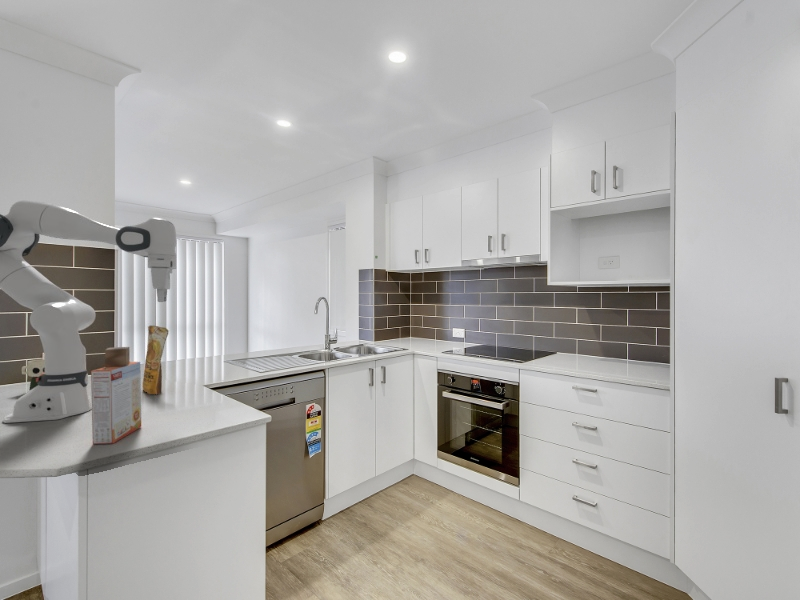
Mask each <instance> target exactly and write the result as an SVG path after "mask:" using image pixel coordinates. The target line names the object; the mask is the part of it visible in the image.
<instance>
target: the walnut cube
mask: <svg viewBox="0 0 800 600" xmlns="http://www.w3.org/2000/svg"><path fill="white" fill-rule="evenodd" d="M130 352H131V351H130V346H118V347H117V346H115V347H107V348H106V349H104V367H117V366H127V365H128V364H129V363H130V362H131V361H130V359H131V358H130V357H131V356H130Z"/></svg>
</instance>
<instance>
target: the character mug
mask: <svg viewBox="0 0 800 600" xmlns="http://www.w3.org/2000/svg"><path fill="white" fill-rule="evenodd" d="M26 369H27V371H26ZM43 373H45V362H44V359H33V360H29V361H27V365H23V366H21V375H27V376H28V377H31V379H30V383H29V391H30V390H32V389H33V388H35V387H36V386H38V384H37V382H36V380H37V379H36V378H37V377H39V376H40V375H41V374H43Z"/></svg>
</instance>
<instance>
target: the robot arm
mask: <svg viewBox="0 0 800 600" xmlns="http://www.w3.org/2000/svg"><path fill="white" fill-rule="evenodd" d="M40 236H44V237H45V236H46V237H49V238H55V239H62V240H70V241H71V240H74V241H89V242H100V243H106V244H110V245H113V246H118V248H119V249H120V250H122V251H124V252H126V253H128V254H132V255H135V256H136V255H137V256H140V257H143V258H147V269H150V275H151V276H150V277H151V283H152V287H153V289H156V296H157V302H158V303H164V302H167V298H168V296H167V295H168V290H170V289H171V274H173V270H176V269H177V253H176V247H177V233H176V227H175V224H174V223H172V222H171V221H169V220H167V219H164V218H160V217H151V218H149V219H148V220H145V221H144V222H140V223H137V224H133V225H130V226H129V225H126V226H124V227H122V228H118V227H115V226H109V225H107V224H103V223H100V222H98V221H96V220H93V219H92V218H90V217H88V216H86V215H83V214H81V213H79V212H77V211H75V210H72V209H69V208H66V207H64V206H60V205H57V204H53V203H48V202H42V201H34V200H19V201H16V202H14V204H12V205H11V207H10V209H9V212H8V213H7V214H4V215H3V214H1V213H0V290H1V291H3V292H4V293H5V294H6V295H8V296H9V297H10V298H12V299H13V300H14V301H15V302H16V303H18V304H19V305H20V306H22V307H25V308H28V309H30V310H32V312H31V313H30V316H29V323H30V325H31V327H32V329H34V330H35V331H36V332H37V334H38V336H39V338H40V342H41V344H42V345H41V346H42V349H43V355H44V356H43V357H44V359H43V360H44V362H45V373H43V374H41V375H40V376H39V377H37V378H36V379H37V380H36V382H37V384H38V386H36V387H35V388H33V389H32V390H29V391H28V392H26V393H24V394H23V395H22V396H20V397H18V399H17V400H16V401H15V403H14V405H13V411H12V412H11V413H8V414H7V415H5V416H4V417H3V423H4V424H5V423H7V424H10V423H22V422H23V423H24V422H25V423H26V422H38V421H40V422H42V421H56V420H61V419H64V418H65V419H66V418H67V417H71V416H76V415H80V414H83V413H87V412H88V411H92V403H91V401H90V398H89V394H88V393H89V392H88V387H87V386H88V384H89V374H88V370H87V349H86V347H85V345H84V344H83V343H82V340H81V337H80V333H79V331H83V330H85V329H86V328H89V327H90V326H91V325H92V324H93V323H94V322H95V320H96V315H97V314H96V311H95V309H94V307H92V306H91V305H89V304H87V303H85V302H83V301H82V300H80V299H78V298H77V297H75V296H73V295H72V294H71V293H69V292H67V291H66V290H64V289H63V288H61V287H59V286H58V285H56V284H54V283H53V282H52V281H51V280H49V279H48V278H47V277H46V276H44V275H43V274H42V273H41V272H40V271H38V270H37V269H36V268H35V267H34V266H32V265H31V264H29V262H27V260H25V259H24V257H25V256H28V255H29V254H31V251H32V250H33V249H34V248H35V247H36V246H37V245H38V243H39V242H40V238H41V237H40Z"/></svg>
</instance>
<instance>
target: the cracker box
mask: <svg viewBox="0 0 800 600" xmlns="http://www.w3.org/2000/svg"><path fill="white" fill-rule="evenodd" d="M141 371H142V370H141V361H130V363H129V364H128V365H127V366H117V367H105V366H104V367H100V368H97V369H93V370H91V371H90V379H91V380H90V381H91V383H90V384H91V385H90V387H91V407H92V409H91V427H92V430H91V432H92V435H91V436H92V445H110V444H115V443H117V442H119V441H120V440H121V439H123V438H125V437H127V436H128V435H130V434H132V433H133V432H135V431H137V430H138V429H140V428H141V427H142V390H141V389H142V385H141V384H142V381H141V378H142V377H141V375H142V374H141Z"/></svg>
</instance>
